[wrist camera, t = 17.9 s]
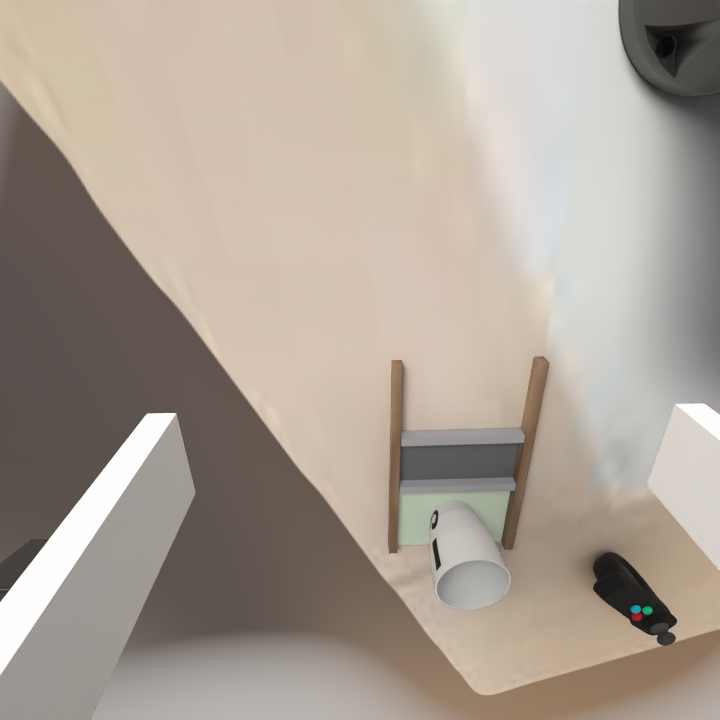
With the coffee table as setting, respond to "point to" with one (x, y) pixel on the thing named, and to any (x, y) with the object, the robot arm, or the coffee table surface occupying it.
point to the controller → (632, 597)
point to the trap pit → (458, 460)
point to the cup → (465, 559)
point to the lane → (522, 456)
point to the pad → (420, 506)
